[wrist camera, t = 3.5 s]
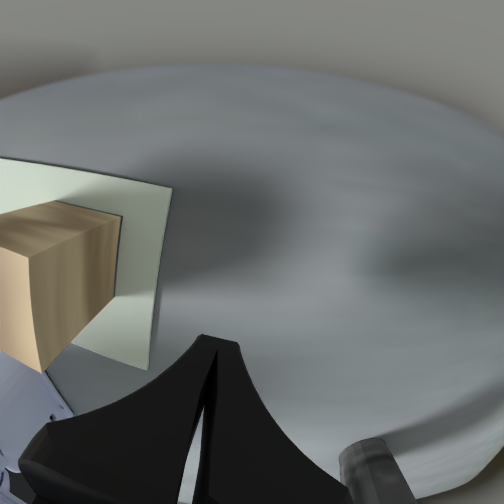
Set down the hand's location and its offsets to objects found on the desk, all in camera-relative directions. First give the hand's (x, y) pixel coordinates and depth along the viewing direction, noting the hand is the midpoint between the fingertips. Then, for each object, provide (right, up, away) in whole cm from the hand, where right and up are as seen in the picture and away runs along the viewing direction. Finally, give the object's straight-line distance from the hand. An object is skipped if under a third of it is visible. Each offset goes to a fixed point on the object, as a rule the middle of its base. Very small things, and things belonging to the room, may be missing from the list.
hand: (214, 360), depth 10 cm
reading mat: (-12, +3, +6) cm, 14 cm away
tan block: (-9, +4, +6) cm, 11 cm away
